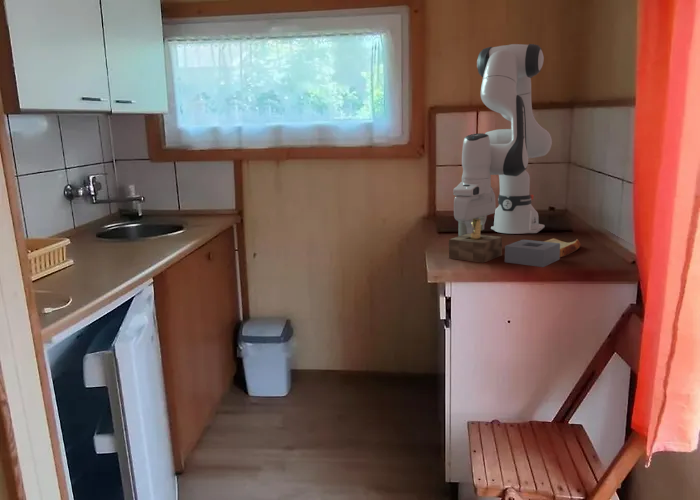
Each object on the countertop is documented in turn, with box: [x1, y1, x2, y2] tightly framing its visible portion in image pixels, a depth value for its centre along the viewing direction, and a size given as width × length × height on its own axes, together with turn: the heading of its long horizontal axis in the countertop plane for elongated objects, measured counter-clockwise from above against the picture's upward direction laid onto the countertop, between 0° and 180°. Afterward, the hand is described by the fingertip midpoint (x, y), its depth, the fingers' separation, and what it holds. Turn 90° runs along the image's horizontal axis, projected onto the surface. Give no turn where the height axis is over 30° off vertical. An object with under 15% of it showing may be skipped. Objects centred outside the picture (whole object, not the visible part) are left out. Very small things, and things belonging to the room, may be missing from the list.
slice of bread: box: [543, 238, 582, 258], centre depth 187 cm, size 18×18×4 cm
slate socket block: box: [504, 239, 561, 268], centre depth 174 cm, size 12×12×5 cm
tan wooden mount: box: [448, 234, 503, 263], centre depth 182 cm, size 12×12×6 cm
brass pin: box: [471, 218, 482, 240], centre depth 181 cm, size 3×3×12 cm
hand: (475, 231), depth 181 cm, fingers open, 5 cm apart
